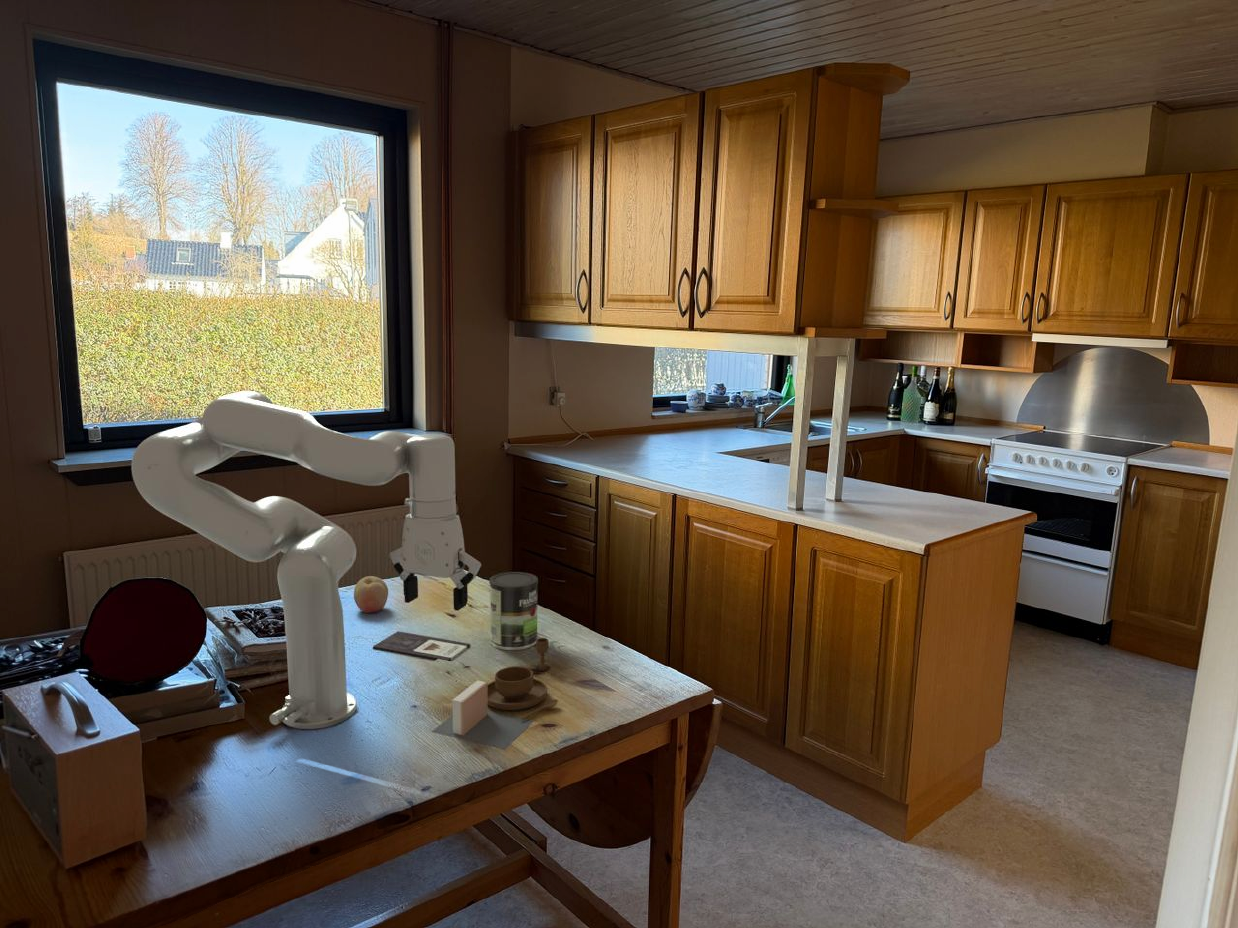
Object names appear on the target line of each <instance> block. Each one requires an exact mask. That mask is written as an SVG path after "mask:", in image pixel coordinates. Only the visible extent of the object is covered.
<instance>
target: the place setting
mask: <svg viewBox="0 0 1238 928" xmlns="http://www.w3.org/2000/svg"><path fill="white" fill-rule="evenodd" d="M535 646H536V648H535V649H536V651H537V654H540V659H539V661H540V664H538V665H536V667H535V669H536V671H538V672H539V671H540V672H542V671H543V672H544V671H545V672H546V671H549V670H550V668H551V666H550V665H549V664H546V658H545V656H546V655H545V654H547V653H548V651H549V639H548V638H546V637H541V638H537V640H536V644H535ZM487 689H488V706H490V707H492V708H493V709H494V708H495V709H498V710H503V711H520V710H522V711H523V710H525V709H529V708H532V707H534V706H536V705H538V704H540V703H541V702H542V701H543V700H544V699H545V697H546V696H547V694H548V687H547V684H546V683H545V682H543V681H541V680H540V679H537V678H534V672H533V670H532V669H530V668H528V667H524V666H508V667H504V668H502V669H499V670H498V671H497V672H496V673H495V675H494V680H492V681H491V682H489V683H487ZM557 703H558V699H551V700H548V701H545V702H544V703H543V704H542V706H540V707H539V708H537V709H535V710H532V711H530V712H529V713H527V714H524V715H523V716H521V717H519V718H520V719H526V718H527V717H529V716H531V715H533V714H535V713H537V712H539V711H541V710H544V709H551V708H553V707H554V706H556V705H557Z"/></svg>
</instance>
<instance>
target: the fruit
mask: <svg viewBox="0 0 1238 928" xmlns="http://www.w3.org/2000/svg"><path fill="white" fill-rule="evenodd" d="M353 599H354V600H353V601H354V602H355V605H356V606H357V607H358V609H359V610H360V611H362V612H363V613H366V614H372V613H377V612H379V611H381V610H382V609H384V607H385V606H386V604H387V601H388V599H389V588H388V586H387V583H386V582H385V581H384V580H383V579H382V578H380V577H377V576H373V575H369V576H368V575H367V576H364V577H363V578H361V579H360V580H359V581H357V583H356V585H355V586H354V589H353Z"/></svg>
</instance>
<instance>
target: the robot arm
mask: <svg viewBox="0 0 1238 928" xmlns="http://www.w3.org/2000/svg"><path fill="white" fill-rule="evenodd" d="M455 450H456V449H455V442H454V440H453V438H452V437H451V436H449V435H446V434H441V433H425V434H414V433H407V432H400V431H394V430H392V431H391V430H386V431H382V432H379V433H377V434H376V435H374V436H371V437H370V438H365V437H358V436H354V435H350V434H346V433H342V432H338V431H335V430H332V429H329V428H327V427H324V426H323V425H322V424H320V423H319V422H318V421H317V419H316V418H315V416H314V415H313V414H312V413H311V412H308V411H305V410H302V409H298V408H297V409H296V408H293V407H292V408H291V407H287V406H282V405H279V404H278V405H277V404H274V402H273V401H272V400H271V399H270V398H269V397H267V396H266V395H264V394H262V393H260V392H257V391H252V390H243V391H238V392H234V393H230V394H226V395H222V396H219V397H217V398H215V399H213V400H212V401H211V402H210V403H209V404H208V405H207V406H206V407H205V409H204V411H203V413H202V416H201V417H199V418H198V419H196V420H194V421H192V422H190V423H187V424H185V425H182V426H178V427H177V426H176V427H174V428H171V429H170V428H169V429H166V430H164V431H160V432H157V433H155V434H153V435H150V436H149V437H147V438H146V439H144V440H143V441H141V443H140V444H138V446H137V447H136V449H135V450H134V453H133V455H132V458H131V476H132V480H133V482H134V484H135V487H136V488H137V491H138V492H139V494H140V496H141V497H142V498H143V499H144V500H145V501H146V503H147V504H149V505H150V506H151V507H153V508H154V509H155V510H157V511H158V512H159V513H161V514H162V515H164V516H166V517H168V518H170V519H172V520H174V521H175V522H178V523H179V524H182V525H183V526H185V527H188V528H189V529H191V530H193V531H194V532H196V533H197V534H200V535H201V536H202V537H204V538H206V539H207V540H209V541H211V542H213V543H215V544H216V545H218V546H220V547H222V548H223V549H225V550H227V551H229V552H231V553H233V554H234V555H236V556H237V557H239V558H241V559H243V560H245V561H248V562H251V563H261V562H265V561H267V560H269V559H271V558H273V557H274V556H276V555H277V554H278V553H280V552H282V553H283V556H282V557H281V560H280V562H279V564H278V566H277V567H278V568H277V575H276V576H277V583H278V584H277V585H278V588H279V594H280V598H281V602H282V607H283V608H282V609H283V616H284V618H283V619H284V631H285V640H286V644H285V646H286V658H287V660H286V661H287V677H288V693H289V695H287V696H285V699H284V700H285V703H284V704H283V705H282V708H281V709H278V710H276V711H275V712H273V713H271V714H270V715H269V717H268V718H269V722H270V723H271V724H272V725H274V726H276V725H278V724H280V723H281V722H282V723H283V724H285V725H286V726H288V727H290V728H294V729H298V730H299V729H300V730H316V729H323V728H327V727H328V728H329V727H332V726H335V725H338V724H341V723H342V722H345V721H346V720H348V719H349V718H351V717H352V716H353V714H355V712H356V711H357V707H358V705H357V700H356V697H354V695H352V694H351V693H349V692H348V690H347V686H348V685H347V670H346V669H347V666H346V665H347V664H346V645H345V643H346V642H345V625H344V623H345V622H344V611H343V603H342V600H341V596H340V592H339V581H340V580H341V578H343V576H345V574H346V573H347V572H348V571H350V569H351V568H352V567H353V565H354V563H355V561H356V557H357V547H356V544H355V540H353V537H352V536H351V535H350V533H348V532H347V531H346V530H344V529H343V528H342V527H340V526H339V525H337V524H336V523H334V522H332V521H330V520H329V519H327V518H325V517H323V516H322V515H320V514H319V513H316V512H315V511H313V510H311V509H309V508H308V507H306V506H305V505H303V504H301V503H300V502H297V501H295V500H293V499H291V498H288V497H284V496H278V495H277V496H276V495H272V496H267V497H264V498H260V499H258V500H257V501H255V502H253V501H251V500H247V499H245V498H244V497H241V496H240V495H238V494H236V493H234V492H232V491H231V490H229V489H228V488H226V487H224V486H222V485H220V484H217V483H214V482H211V481H208V480H205V479H203V478H200V477H198V476H197V474H200V473H202V472H205V471H208V470H210V469H213V467H215V466H217V465H220V464H221V463H223V462H225V461H226V460H228V459H230V458H231V457H232V456H235V455H236V454H238V453H240V452H241V451H246V452H251V453H256V454H260V455H264V456H268V457H269V456H270V457H273V458H277V459H283V460H286V461H290V462H295V463H297V464H298V465H300V466H302V467H304V468H306V469H308V470H310V471H313V472H314V473H316V474H318V475H321V476H324V477H328V478H330V479H335V480H339V481H343V482H349V483H353V484H358V485H363V486H372V487H375V486H383V485H385V484H387V483H389V482H392V480H394V479H395V478H397V476H400V475H403V474H406V473H407V474H408V475H409V476H408V480H409V481H408V482H409V498H408V497H406V498H405V499H404V505H405V506H406V507H408V508H409V513H408V514H406V515H405V519H404V525H403V531H402V539H401V547H400V548H397V549H395V550H393V551H391V552H389V557H390V559H391V562H392V564H393V568H394V569H395V571H396V572H397V574H398V575H399V578H400V580H401V581H402V582H403V583H402V584H403V586H402V588H403V596H404V603H406V604H409V603H410V602H413V601H414V600H417V599H418V598H419V579H418V576H419V575H421V576H427V577H434V578H441V579H443V578H444V579H447V578H450V579H451V581H452V582H453V583H454V585H455V587H454V588H453V590H452V591H453V592H452V593H453V595H452V596H453V597H452V598H453V610H454V611H456V612H457V611H458V612H459V611H460V610H462V609H463V608H465V607H466V606H467V604H468V599H469V598H468V597H469V595H468V593H469V592H468V591H469V590H468V585H469V584H470V583H471V582H472V581H473V580H474V579H475V578H476V577H477V575H478V572H479V570H480V568H481V567H482V563H481V562H480V561H479V560H477V559H476V558H475V557H473V556H472V555H470V554H468V553H467V552H466V549H465V540H464V534H463V528H462V527H463V526H462V523H461V519H460V515H459V514H457V508H456V507H457V506H456V504H457V503H456V498H457V497H456V496H457V495H456V460H455V459H456V458H455V457H456V456H455V453H456V452H455ZM465 565H466V566H467V567H468V571H467V573H466V571H465V570H464V569H465Z"/></svg>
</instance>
